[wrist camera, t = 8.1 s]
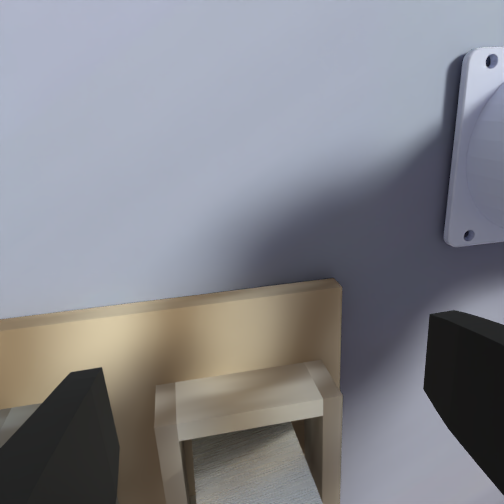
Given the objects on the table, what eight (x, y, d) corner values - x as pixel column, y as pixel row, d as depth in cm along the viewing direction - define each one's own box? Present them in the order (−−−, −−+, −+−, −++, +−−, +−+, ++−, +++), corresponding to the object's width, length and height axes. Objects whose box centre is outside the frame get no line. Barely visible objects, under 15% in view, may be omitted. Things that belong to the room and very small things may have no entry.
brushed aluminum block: (277, 386, 19) (334, 534, 12) (295, 452, 20) (355, 615, 14) (189, 415, 19) (202, 583, 12) (214, 480, 20) (237, 661, 14)
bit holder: (333, 278, 19) (368, 314, 16) (329, 511, 24) (355, 576, 20) (-66, 327, 16) (-124, 383, 13) (20, 577, 21) (-7, 664, 18)
